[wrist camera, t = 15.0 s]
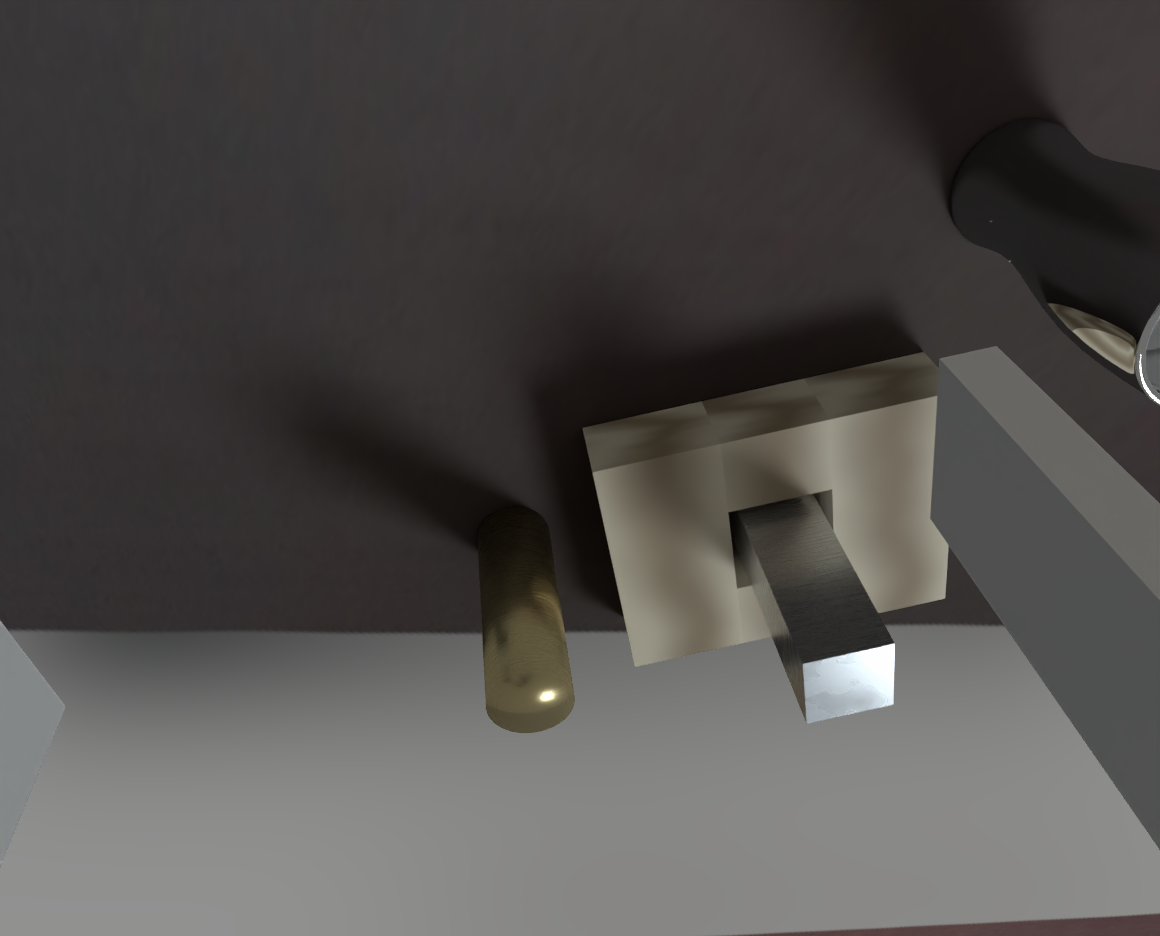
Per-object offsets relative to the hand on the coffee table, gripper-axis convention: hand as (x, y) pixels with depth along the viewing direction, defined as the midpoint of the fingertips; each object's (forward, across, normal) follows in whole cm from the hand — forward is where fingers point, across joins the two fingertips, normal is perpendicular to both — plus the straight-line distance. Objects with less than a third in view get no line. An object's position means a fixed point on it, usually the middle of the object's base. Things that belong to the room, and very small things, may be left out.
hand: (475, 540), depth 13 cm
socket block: (+30, +11, -26) cm, 41 cm away
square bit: (+30, +11, -26) cm, 41 cm away
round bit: (+31, -3, -25) cm, 39 cm away
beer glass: (+31, +24, -10) cm, 40 cm away
